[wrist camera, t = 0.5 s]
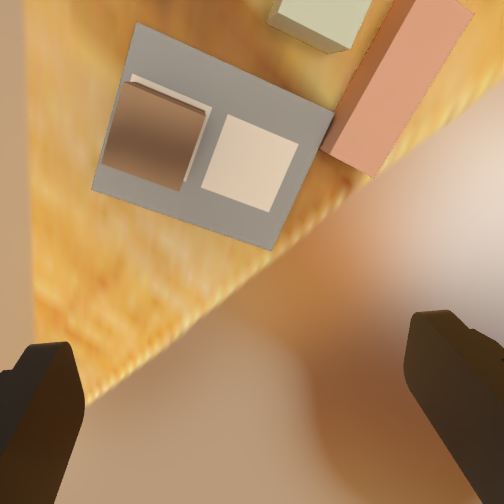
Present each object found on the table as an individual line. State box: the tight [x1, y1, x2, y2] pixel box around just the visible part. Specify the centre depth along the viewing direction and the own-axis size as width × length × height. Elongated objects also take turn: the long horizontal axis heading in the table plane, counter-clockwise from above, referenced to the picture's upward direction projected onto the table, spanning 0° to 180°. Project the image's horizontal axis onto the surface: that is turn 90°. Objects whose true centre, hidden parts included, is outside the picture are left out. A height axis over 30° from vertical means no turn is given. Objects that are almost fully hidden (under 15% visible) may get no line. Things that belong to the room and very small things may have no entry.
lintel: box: [319, 0, 475, 178], centre depth 29 cm, size 12×4×4 cm, turn 153°
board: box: [91, 22, 334, 251], centre depth 30 cm, size 12×15×1 cm
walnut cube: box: [101, 82, 206, 192], centre depth 26 cm, size 5×5×5 cm
